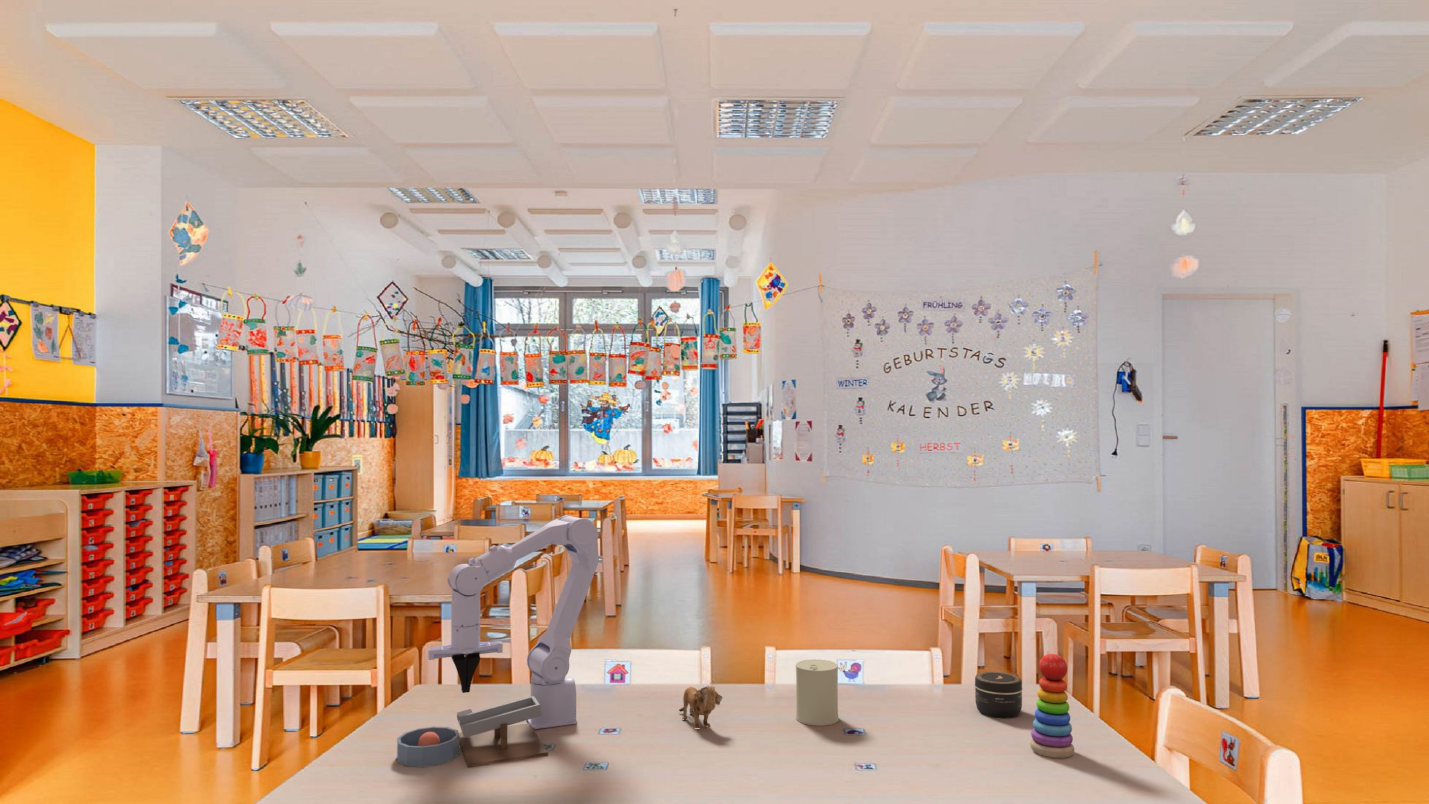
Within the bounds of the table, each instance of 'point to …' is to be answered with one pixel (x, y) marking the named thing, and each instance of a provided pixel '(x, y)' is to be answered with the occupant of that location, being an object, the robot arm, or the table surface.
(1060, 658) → the stacking toy
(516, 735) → the catapult base
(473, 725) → the lever
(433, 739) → the ball
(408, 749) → the bowl
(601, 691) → the table surface
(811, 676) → the can
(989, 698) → the jar
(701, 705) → the lion figurine
